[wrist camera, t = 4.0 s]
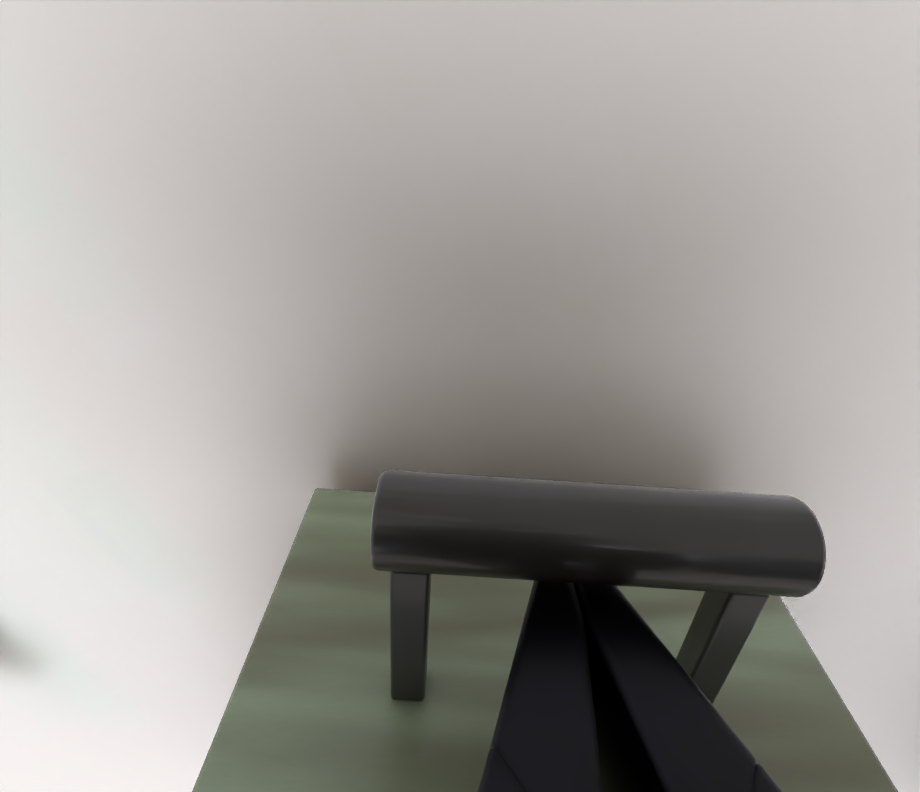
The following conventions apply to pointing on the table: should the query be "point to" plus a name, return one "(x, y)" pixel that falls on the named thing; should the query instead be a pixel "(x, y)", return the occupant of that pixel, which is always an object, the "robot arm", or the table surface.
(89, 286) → the table surface
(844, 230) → the table surface
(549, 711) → the robot arm
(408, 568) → the drawer
